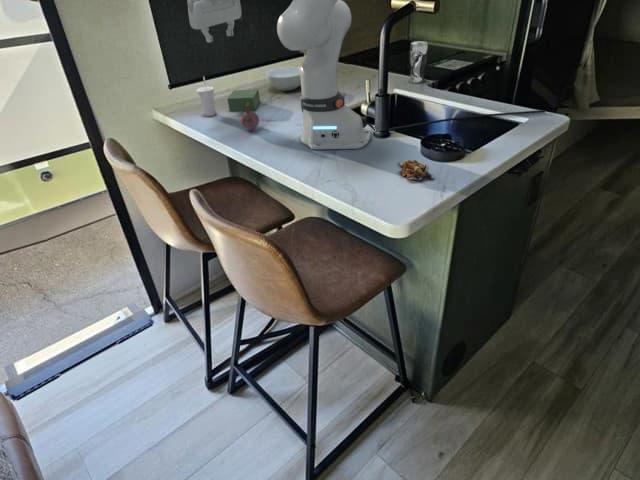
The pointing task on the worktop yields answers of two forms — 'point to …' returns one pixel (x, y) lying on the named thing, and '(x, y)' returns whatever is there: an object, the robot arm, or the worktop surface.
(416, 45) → the beer glass
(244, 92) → the green block
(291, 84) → the cereal bowl
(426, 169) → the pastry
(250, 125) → the vegetable
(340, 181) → the worktop surface
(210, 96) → the smoothie
